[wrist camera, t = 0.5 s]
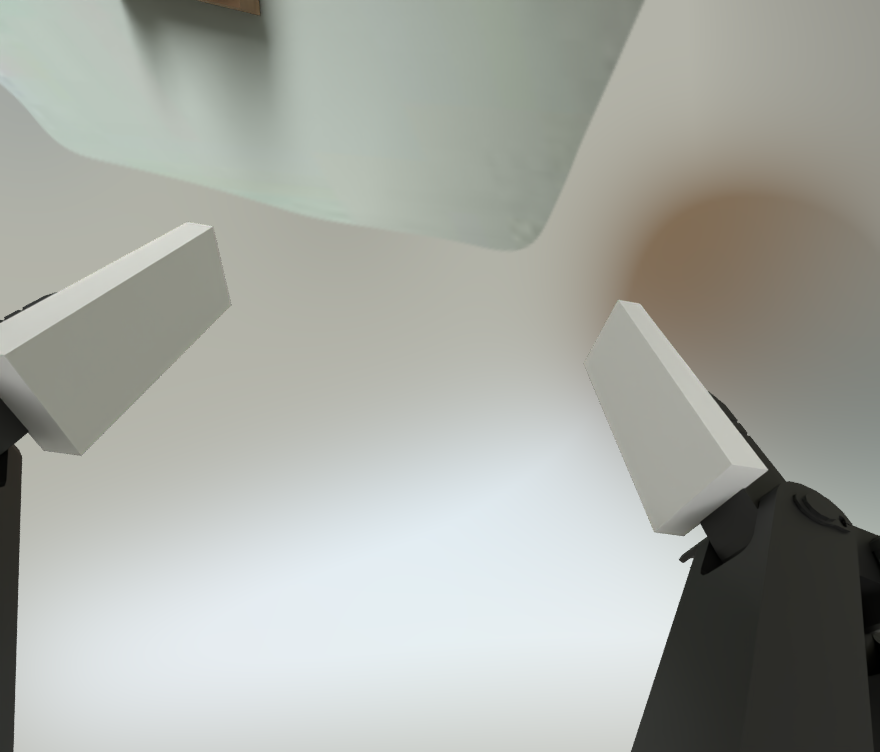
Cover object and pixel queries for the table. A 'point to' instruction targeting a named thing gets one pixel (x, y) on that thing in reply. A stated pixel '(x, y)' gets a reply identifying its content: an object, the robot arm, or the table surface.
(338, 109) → the table surface
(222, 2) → the wooden stepped bars
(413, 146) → the table surface
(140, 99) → the table surface
